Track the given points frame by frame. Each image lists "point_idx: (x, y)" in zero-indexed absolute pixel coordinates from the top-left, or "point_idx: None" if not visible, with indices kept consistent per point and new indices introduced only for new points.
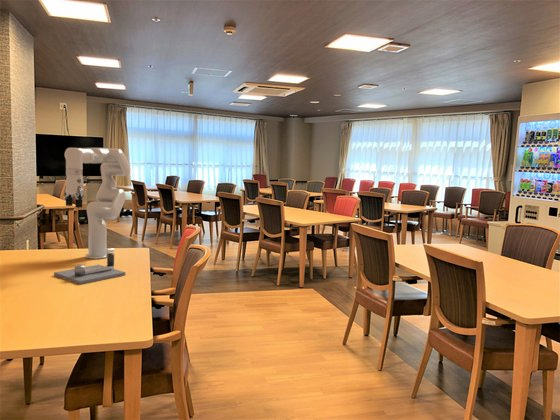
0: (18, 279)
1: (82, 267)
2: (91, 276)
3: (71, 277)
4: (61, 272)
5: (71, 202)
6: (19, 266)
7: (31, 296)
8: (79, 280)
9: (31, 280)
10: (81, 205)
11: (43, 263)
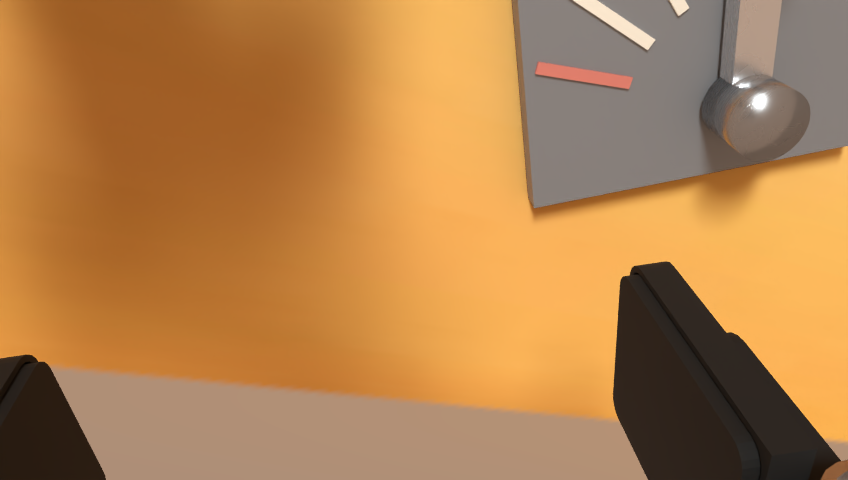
0: (479, 356)
1: (806, 116)
2: (817, 41)
3: (736, 159)
4: (568, 171)
5: (8, 461)
6: (127, 305)
7: (811, 359)
8: (836, 142)
9: (544, 313)
10: (687, 308)
11: (80, 157)
